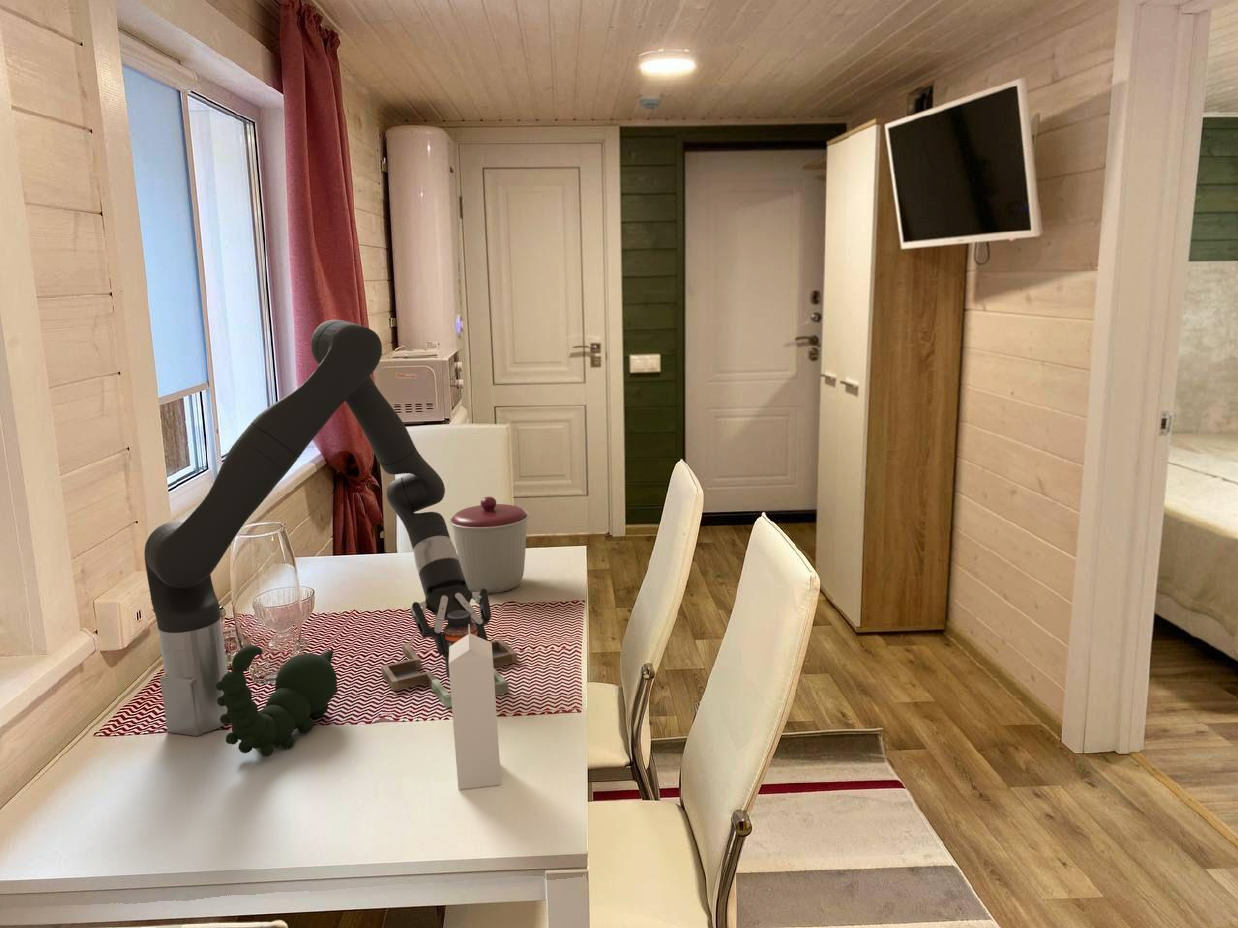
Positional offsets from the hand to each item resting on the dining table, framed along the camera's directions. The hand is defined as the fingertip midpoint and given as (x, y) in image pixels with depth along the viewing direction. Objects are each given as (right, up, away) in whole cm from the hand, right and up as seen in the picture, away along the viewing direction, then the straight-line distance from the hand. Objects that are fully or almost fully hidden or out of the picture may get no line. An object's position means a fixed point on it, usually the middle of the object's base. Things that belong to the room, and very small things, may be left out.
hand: (464, 650), depth 161 cm
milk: (+7, -13, -27) cm, 31 cm away
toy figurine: (-25, -11, -13) cm, 30 cm away
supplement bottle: (-1, -5, +3) cm, 6 cm away
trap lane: (-3, -5, +8) cm, 10 cm away
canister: (-2, +4, +54) cm, 54 cm away
